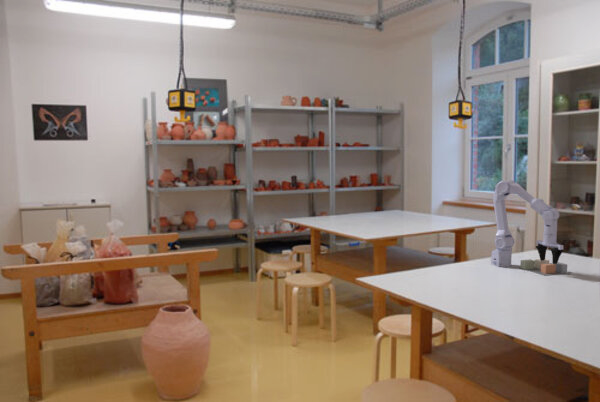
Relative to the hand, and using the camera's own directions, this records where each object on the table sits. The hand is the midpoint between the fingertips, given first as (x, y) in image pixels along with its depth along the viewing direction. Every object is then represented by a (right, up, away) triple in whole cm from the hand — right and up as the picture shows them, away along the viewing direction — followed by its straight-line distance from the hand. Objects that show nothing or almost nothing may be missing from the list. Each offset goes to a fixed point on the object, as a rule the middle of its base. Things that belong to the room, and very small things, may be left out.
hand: (548, 261), depth 238 cm
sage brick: (-6, -4, +9) cm, 12 cm away
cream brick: (+2, -4, +11) cm, 12 cm away
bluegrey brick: (+7, -5, +3) cm, 9 cm away
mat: (0, -5, +4) cm, 7 cm away
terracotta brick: (0, -5, +1) cm, 5 cm away
